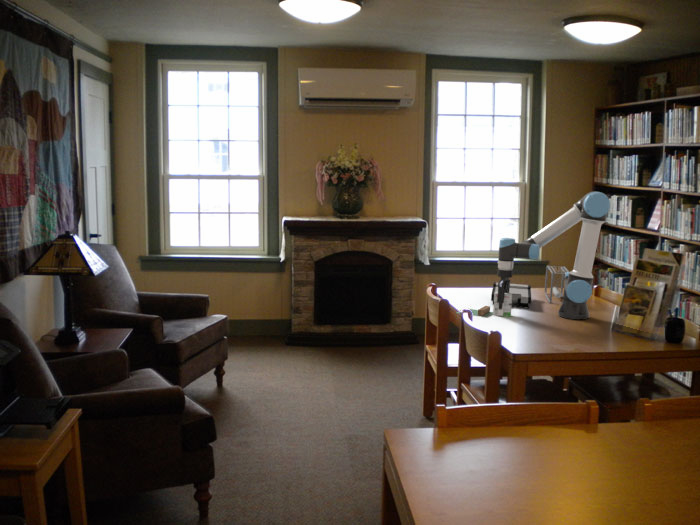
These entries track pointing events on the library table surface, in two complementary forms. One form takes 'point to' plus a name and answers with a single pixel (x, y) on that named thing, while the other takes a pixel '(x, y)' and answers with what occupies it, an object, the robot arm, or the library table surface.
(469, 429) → the library table surface
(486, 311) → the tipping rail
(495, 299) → the ink box
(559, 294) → the newton's cradle
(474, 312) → the felt mat
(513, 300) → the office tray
